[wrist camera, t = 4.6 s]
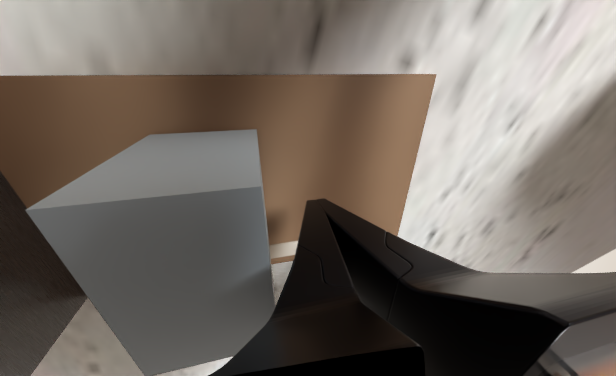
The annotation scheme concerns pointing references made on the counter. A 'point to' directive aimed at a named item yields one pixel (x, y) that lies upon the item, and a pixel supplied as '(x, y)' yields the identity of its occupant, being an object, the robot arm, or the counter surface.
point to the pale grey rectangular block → (170, 245)
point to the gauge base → (225, 117)
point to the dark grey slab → (30, 289)
